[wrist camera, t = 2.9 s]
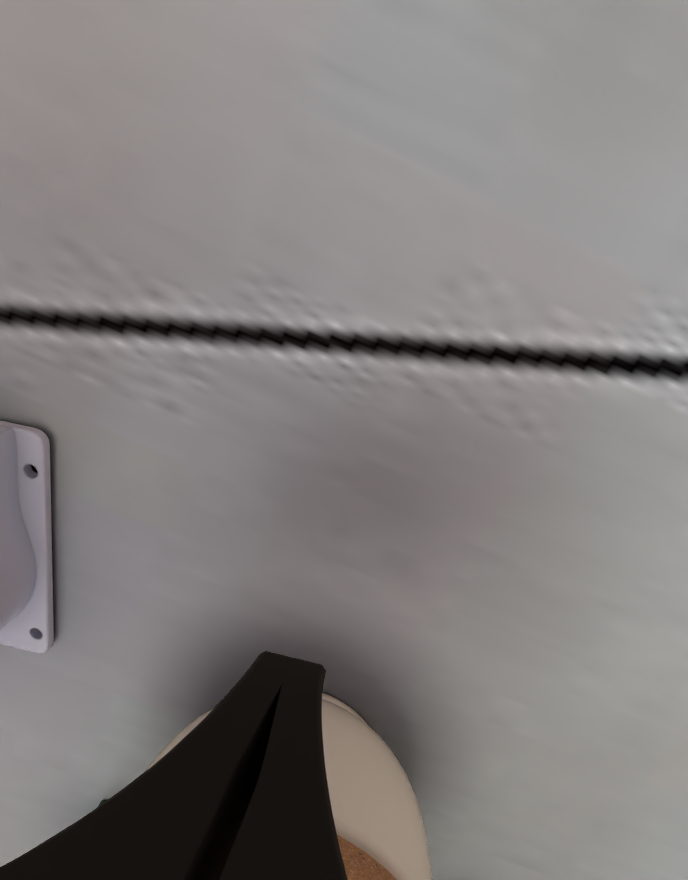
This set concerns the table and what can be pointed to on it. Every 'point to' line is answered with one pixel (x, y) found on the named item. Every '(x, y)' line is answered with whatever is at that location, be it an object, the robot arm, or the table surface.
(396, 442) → the table surface
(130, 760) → the table surface
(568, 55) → the table surface
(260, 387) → the table surface
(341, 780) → the trinket box
